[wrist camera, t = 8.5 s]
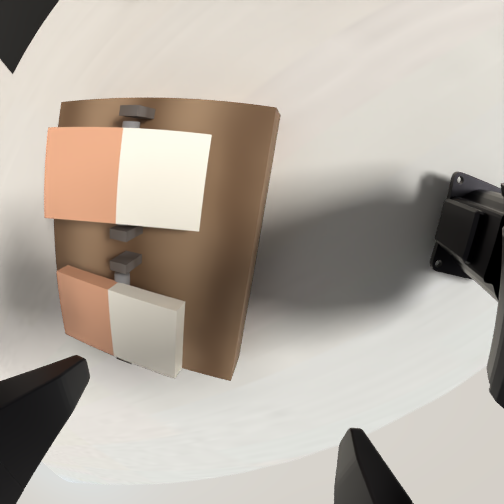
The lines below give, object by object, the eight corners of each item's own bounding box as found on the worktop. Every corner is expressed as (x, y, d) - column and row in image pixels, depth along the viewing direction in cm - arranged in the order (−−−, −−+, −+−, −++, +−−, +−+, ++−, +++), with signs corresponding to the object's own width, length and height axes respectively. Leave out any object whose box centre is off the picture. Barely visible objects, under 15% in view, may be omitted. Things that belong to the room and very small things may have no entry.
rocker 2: (191, 288, 17) (176, 304, 15) (186, 363, 19) (174, 383, 17) (75, 255, 19) (55, 265, 17) (82, 324, 20) (66, 338, 18)
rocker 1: (212, 128, 16) (212, 127, 14) (198, 227, 18) (198, 238, 16) (64, 121, 14) (49, 120, 12) (59, 215, 16) (44, 224, 14)
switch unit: (280, 115, 17) (272, 101, 13) (238, 356, 23) (224, 399, 19) (83, 105, 19) (39, 100, 14) (81, 308, 25) (48, 334, 20)
